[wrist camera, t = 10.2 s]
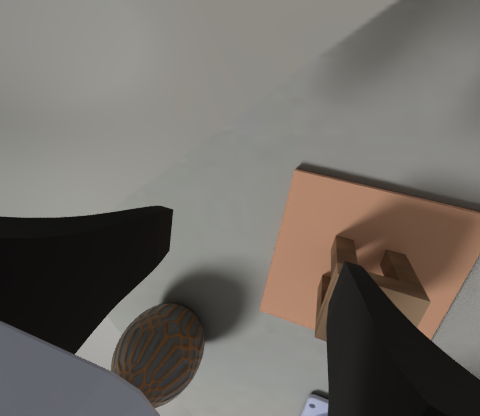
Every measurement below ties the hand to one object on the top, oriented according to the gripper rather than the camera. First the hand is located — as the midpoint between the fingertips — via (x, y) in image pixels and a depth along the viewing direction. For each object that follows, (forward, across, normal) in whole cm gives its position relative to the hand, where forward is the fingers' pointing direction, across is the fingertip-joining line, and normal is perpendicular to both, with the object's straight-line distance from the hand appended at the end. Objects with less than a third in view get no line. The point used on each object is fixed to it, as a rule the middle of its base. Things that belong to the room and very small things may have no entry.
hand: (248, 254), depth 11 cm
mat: (+10, -6, +4) cm, 12 cm away
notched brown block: (+9, -6, +4) cm, 12 cm away
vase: (+10, +6, +15) cm, 19 cm away
